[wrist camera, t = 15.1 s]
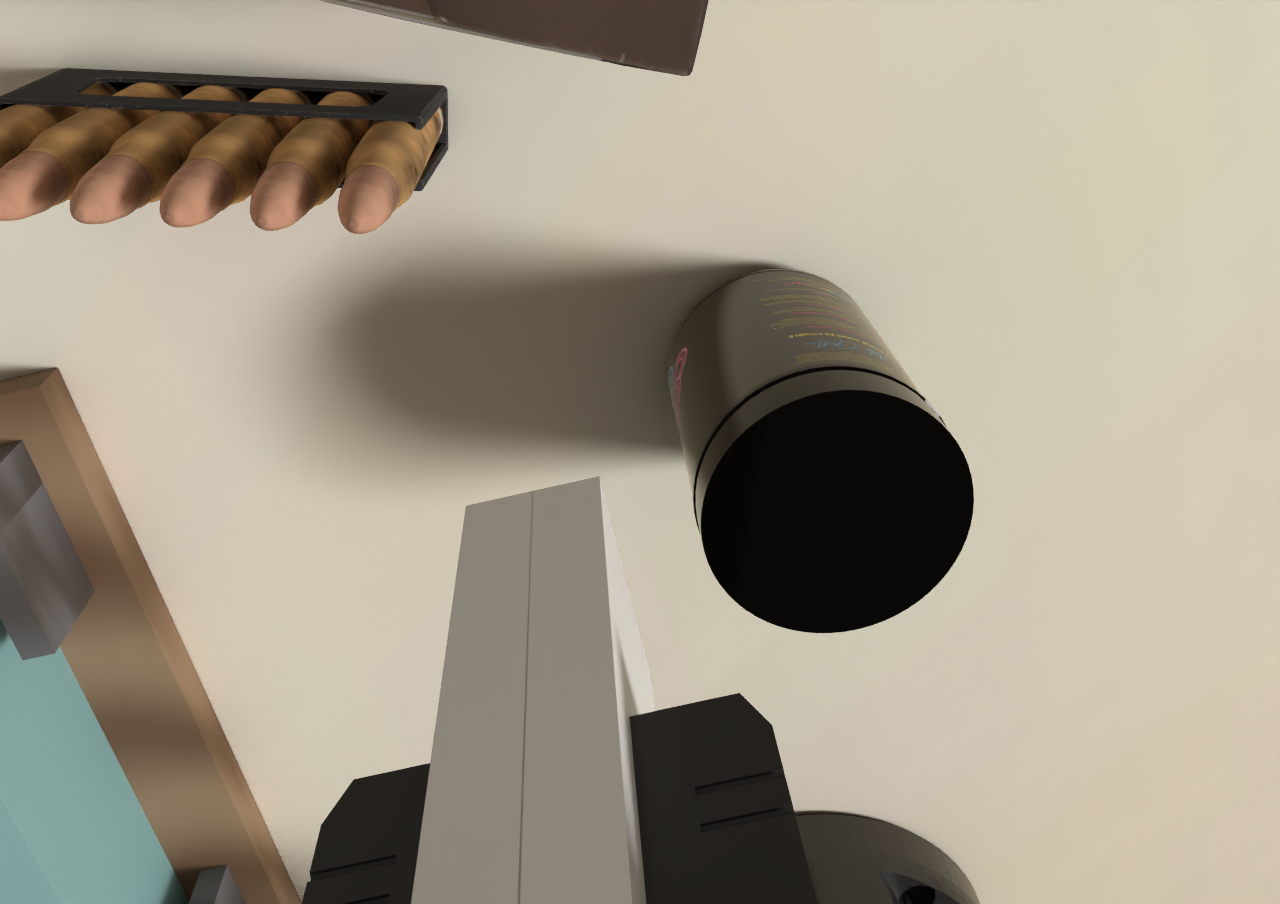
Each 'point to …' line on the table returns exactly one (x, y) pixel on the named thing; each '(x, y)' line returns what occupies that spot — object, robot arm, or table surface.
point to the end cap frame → (122, 647)
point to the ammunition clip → (216, 146)
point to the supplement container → (812, 456)
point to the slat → (68, 798)
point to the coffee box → (569, 26)
